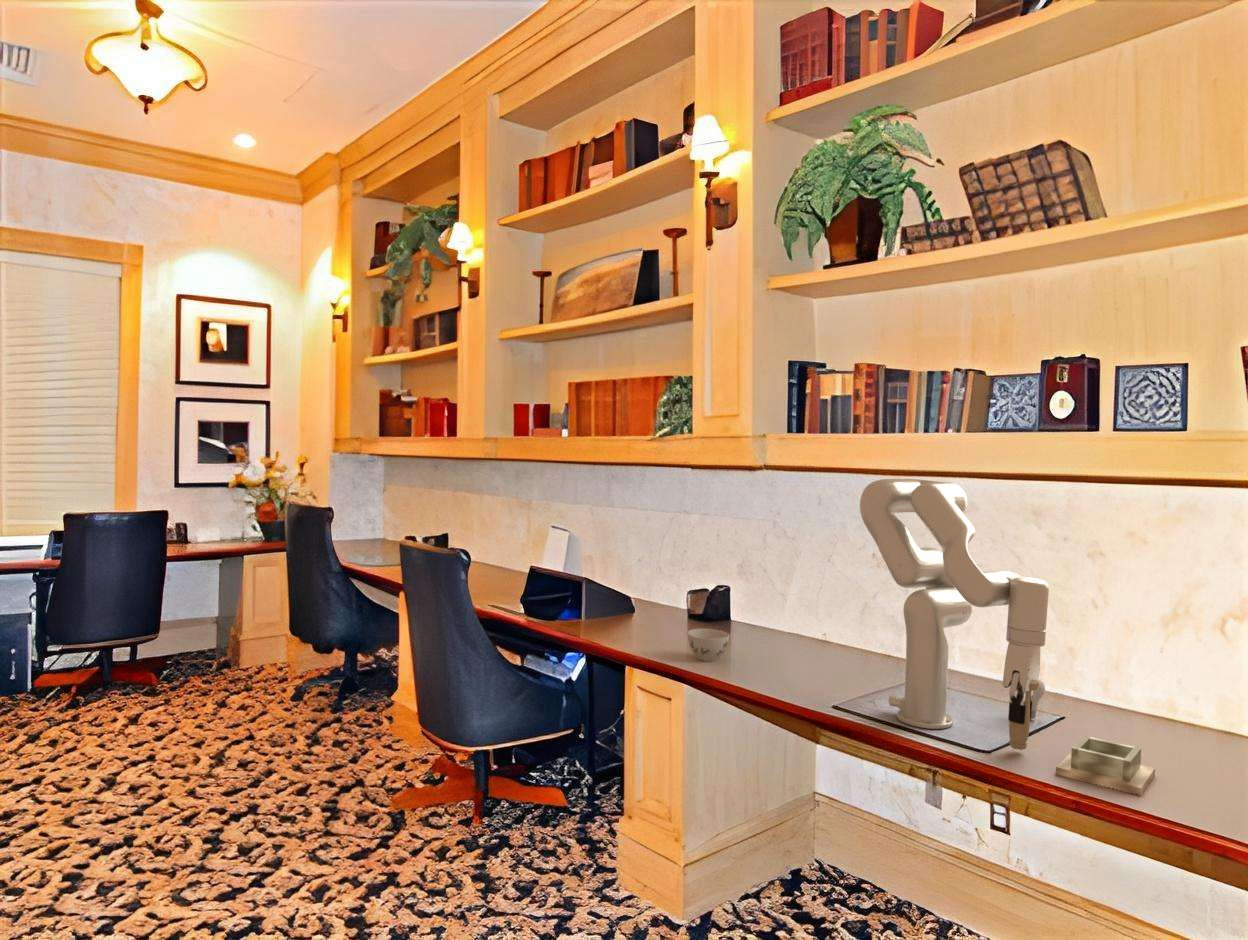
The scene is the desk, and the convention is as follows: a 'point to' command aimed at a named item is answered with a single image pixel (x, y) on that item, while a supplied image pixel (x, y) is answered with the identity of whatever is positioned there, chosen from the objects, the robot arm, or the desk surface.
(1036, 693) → the lightbulb
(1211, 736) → the desk surface
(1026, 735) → the handle
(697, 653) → the teacup
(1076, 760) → the socket block
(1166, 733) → the desk surface
